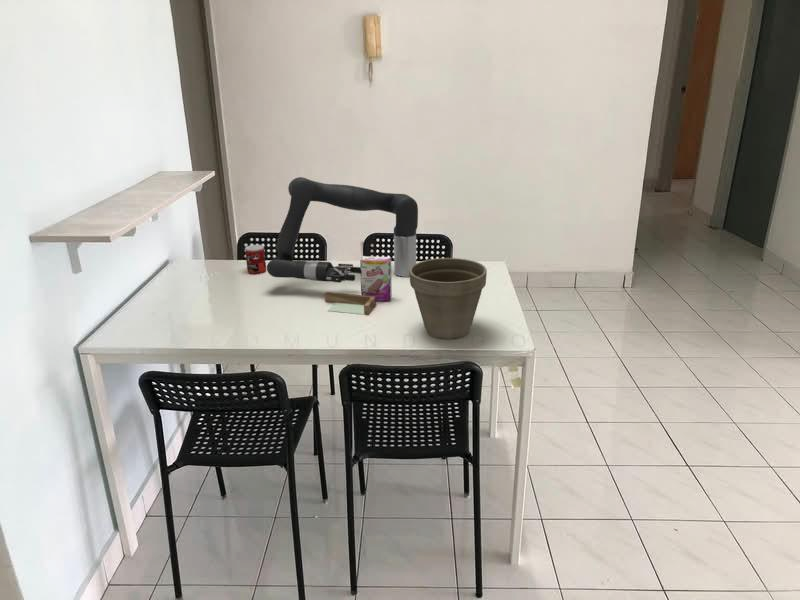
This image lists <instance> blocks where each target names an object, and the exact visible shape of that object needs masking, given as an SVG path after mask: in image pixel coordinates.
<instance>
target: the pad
mask: <svg viewBox="0 0 800 600" xmlns="http://www.w3.org/2000/svg"><path fill="white" fill-rule="evenodd" d="M332 304H333V305H332V306H331V307H329V308H328V310H327V312H334V313H342V314H343V313H345V314H354V315H363V314H364V305H357V304H346V303H332Z"/></svg>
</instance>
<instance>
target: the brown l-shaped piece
mask: <svg viewBox="0 0 800 600" xmlns="http://www.w3.org/2000/svg"><path fill="white" fill-rule="evenodd" d="M324 298H325V299H324V300H325V303H331V304H334V303H346V304H357V305H364V316H369V315H370V314H369V313H371V312H372V311H373V310H374V309H375V307H376V306H377V301H376V296H366V295H361V294H355V293H342V292H331V291H326V292H324ZM373 308H374V309H373Z"/></svg>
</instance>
